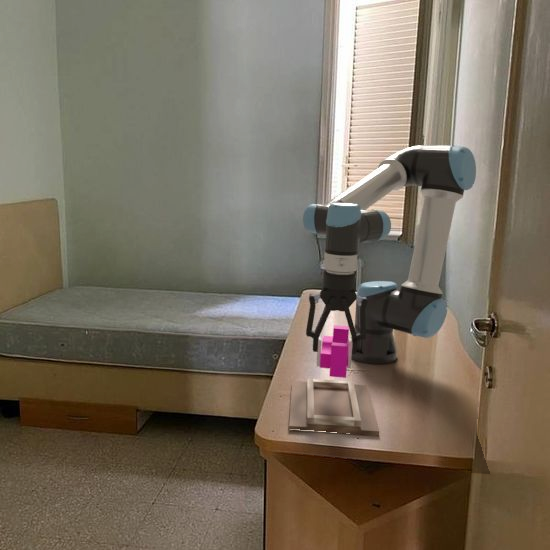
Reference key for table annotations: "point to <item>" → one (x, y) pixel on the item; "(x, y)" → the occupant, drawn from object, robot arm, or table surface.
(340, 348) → the toy block
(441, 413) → the table surface
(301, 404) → the locating board
